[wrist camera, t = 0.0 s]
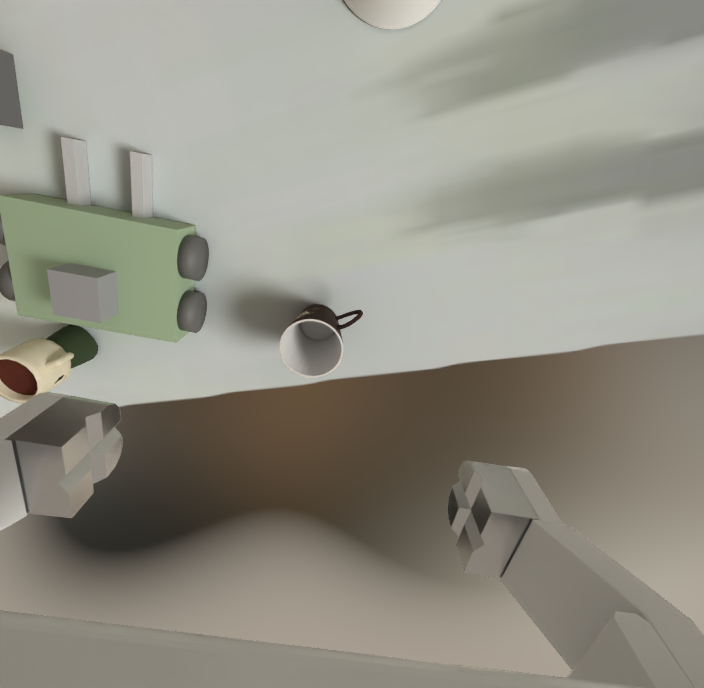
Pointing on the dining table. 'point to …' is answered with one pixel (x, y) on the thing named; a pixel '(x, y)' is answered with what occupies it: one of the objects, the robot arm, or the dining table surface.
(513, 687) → the robot arm
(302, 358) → the coffee mug
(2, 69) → the grey stepped block
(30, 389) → the character mug
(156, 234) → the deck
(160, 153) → the dining table surface
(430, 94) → the dining table surface
